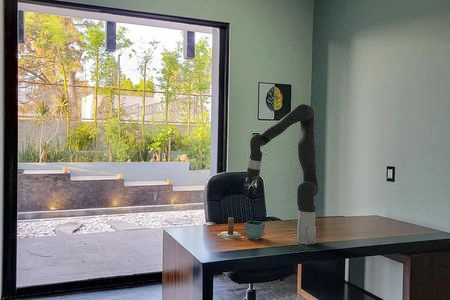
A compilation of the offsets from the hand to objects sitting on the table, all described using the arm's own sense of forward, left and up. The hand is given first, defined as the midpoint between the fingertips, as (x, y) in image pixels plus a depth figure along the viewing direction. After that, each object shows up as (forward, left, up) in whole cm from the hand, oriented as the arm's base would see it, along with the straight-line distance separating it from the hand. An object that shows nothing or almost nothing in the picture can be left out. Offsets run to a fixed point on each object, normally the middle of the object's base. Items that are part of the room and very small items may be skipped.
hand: (249, 194), depth 228 cm
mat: (-6, +16, -22) cm, 28 cm away
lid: (-6, +16, -22) cm, 28 cm away
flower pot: (-16, +6, -23) cm, 28 cm away
